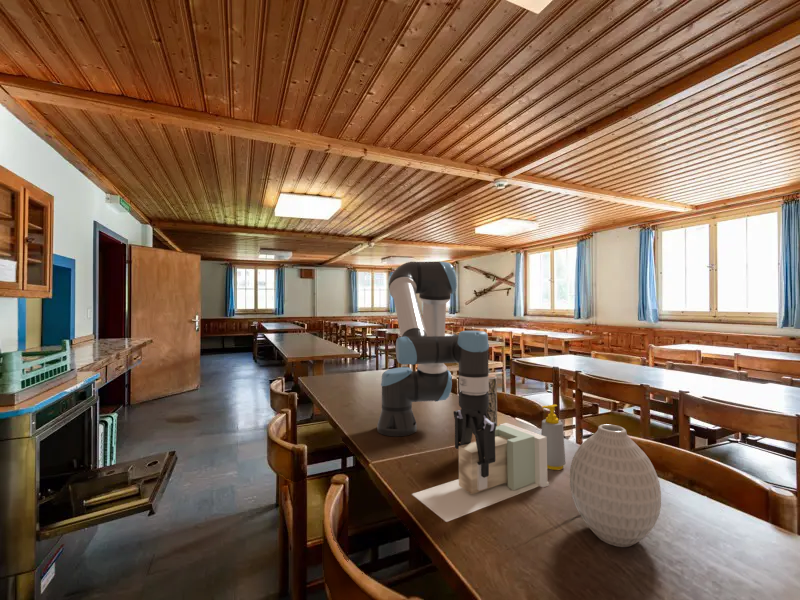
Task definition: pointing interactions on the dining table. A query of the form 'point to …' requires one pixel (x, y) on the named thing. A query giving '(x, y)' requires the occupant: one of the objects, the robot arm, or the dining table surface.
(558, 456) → the soap bottle
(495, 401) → the bark log
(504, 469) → the beige wooden block
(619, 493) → the vase
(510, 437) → the socket block
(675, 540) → the dining table surface
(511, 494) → the track
